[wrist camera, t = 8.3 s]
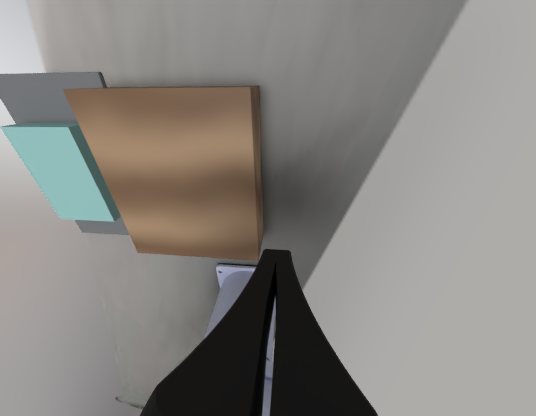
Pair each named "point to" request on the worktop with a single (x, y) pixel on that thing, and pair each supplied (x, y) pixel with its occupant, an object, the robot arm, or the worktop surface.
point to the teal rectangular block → (64, 169)
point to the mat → (52, 113)
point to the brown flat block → (180, 165)
